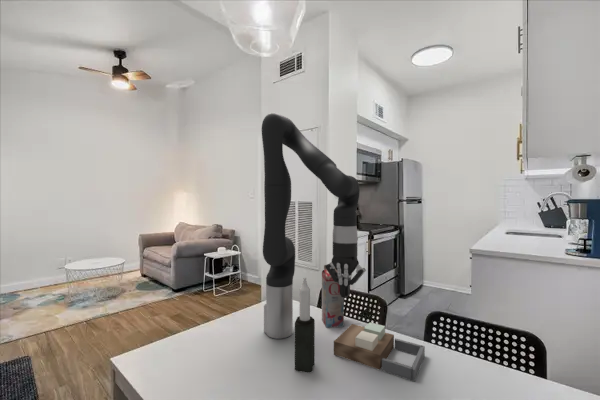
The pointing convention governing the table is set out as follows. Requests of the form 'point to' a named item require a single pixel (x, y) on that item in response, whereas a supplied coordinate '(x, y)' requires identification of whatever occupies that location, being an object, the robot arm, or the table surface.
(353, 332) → the walnut board
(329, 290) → the juice carton
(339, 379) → the table surface
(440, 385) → the table surface
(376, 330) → the sage tile
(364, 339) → the cream tile
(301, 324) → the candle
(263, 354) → the table surface
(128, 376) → the table surface
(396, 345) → the tray
